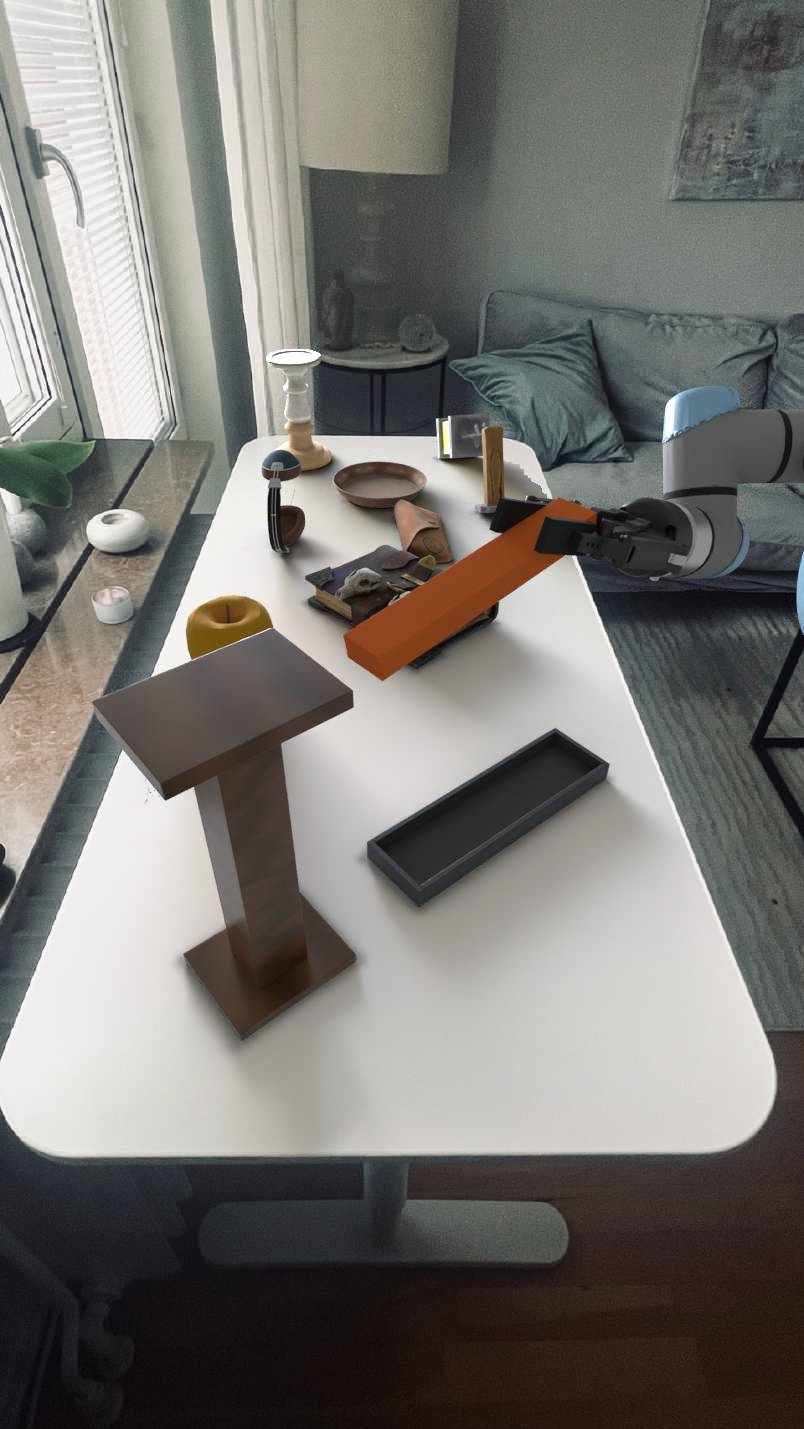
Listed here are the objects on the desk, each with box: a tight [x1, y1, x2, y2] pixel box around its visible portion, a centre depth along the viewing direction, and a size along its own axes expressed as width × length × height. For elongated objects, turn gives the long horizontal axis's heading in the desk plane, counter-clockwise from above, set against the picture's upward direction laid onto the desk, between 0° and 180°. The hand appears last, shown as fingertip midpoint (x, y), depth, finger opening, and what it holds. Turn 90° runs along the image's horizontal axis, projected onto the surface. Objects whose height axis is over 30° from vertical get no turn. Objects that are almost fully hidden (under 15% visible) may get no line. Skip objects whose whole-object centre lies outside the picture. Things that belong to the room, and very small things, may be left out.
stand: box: [91, 627, 357, 1041], centre depth 62 cm, size 14×10×30 cm
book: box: [304, 544, 500, 670], centre depth 116 cm, size 26×18×7 cm
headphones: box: [261, 449, 306, 554], centre depth 131 cm, size 6×15×22 cm
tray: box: [366, 727, 611, 908], centre depth 85 cm, size 28×8×2 cm, turn 130°
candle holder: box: [265, 348, 332, 472], centre depth 157 cm, size 12×12×20 cm
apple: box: [185, 594, 274, 661], centre depth 98 cm, size 11×11×13 cm
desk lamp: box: [435, 412, 506, 514], centre depth 151 cm, size 8×17×30 cm
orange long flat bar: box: [343, 496, 597, 682], centre depth 62 cm, size 24×4×2 cm, turn 132°
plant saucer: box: [332, 460, 428, 509], centre depth 149 cm, size 18×18×3 cm
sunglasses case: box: [393, 500, 454, 565], centre depth 135 cm, size 18×7×7 cm
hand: (520, 524), depth 62 cm, fingers closed on orange long flat bar, 4 cm apart
